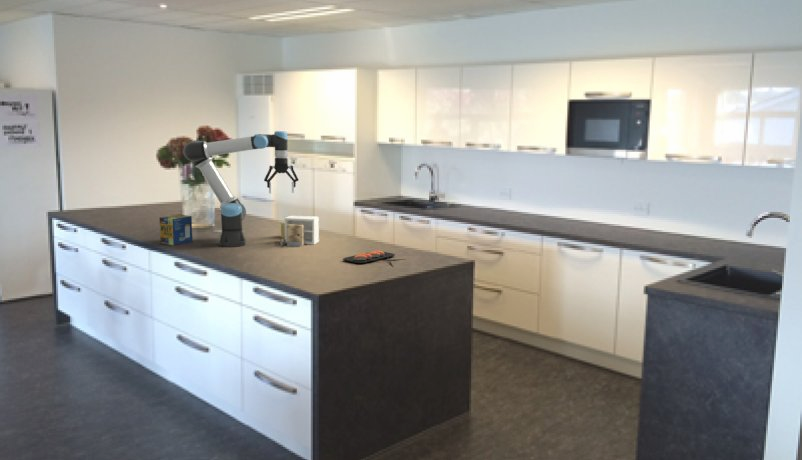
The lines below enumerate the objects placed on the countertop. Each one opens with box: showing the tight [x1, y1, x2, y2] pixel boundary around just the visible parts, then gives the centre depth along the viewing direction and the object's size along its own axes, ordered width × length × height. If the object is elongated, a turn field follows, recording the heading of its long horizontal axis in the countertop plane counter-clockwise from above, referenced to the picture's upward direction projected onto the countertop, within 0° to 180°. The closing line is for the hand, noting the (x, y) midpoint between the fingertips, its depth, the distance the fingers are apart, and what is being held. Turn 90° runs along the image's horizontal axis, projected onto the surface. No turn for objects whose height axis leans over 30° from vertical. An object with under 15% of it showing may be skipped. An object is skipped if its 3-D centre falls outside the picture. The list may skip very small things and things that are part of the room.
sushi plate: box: [342, 250, 407, 268], centre depth 353 cm, size 29×30×4 cm
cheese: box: [280, 220, 285, 240], centre depth 416 cm, size 10×11×10 cm
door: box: [287, 224, 305, 247], centre depth 391 cm, size 9×4×12 cm, turn 81°
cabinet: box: [280, 215, 320, 247], centre depth 397 cm, size 18×18×15 cm
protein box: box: [159, 214, 193, 246], centre depth 395 cm, size 10×15×16 cm
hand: (281, 193), depth 403 cm, fingers open, 13 cm apart
